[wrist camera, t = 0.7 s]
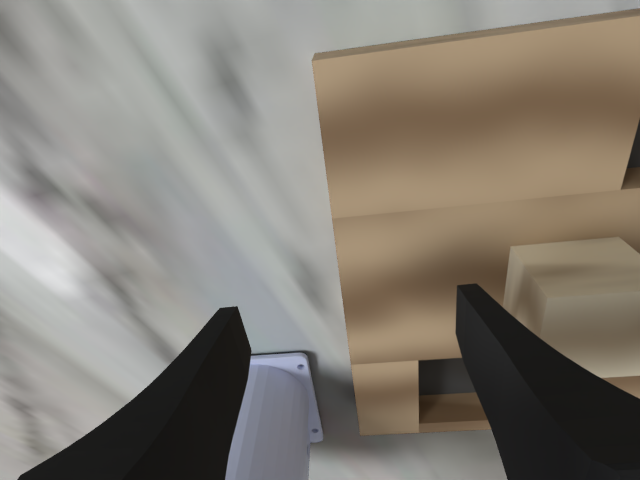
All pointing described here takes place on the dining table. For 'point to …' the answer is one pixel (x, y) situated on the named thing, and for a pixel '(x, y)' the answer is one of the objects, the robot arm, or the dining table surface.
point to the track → (468, 188)
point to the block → (580, 301)
